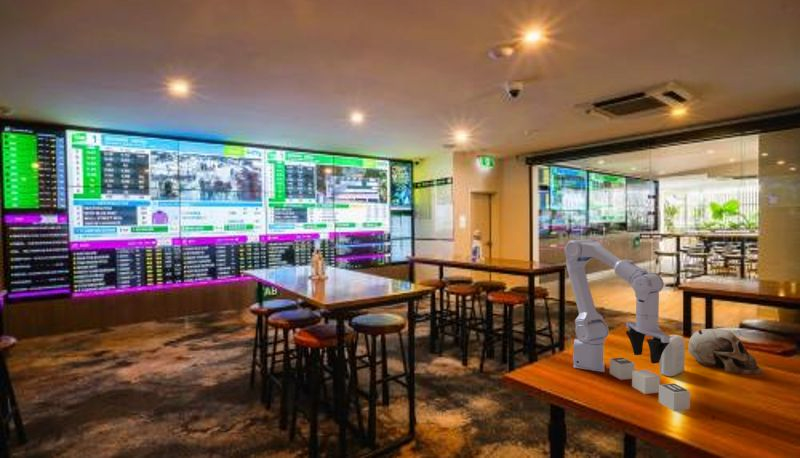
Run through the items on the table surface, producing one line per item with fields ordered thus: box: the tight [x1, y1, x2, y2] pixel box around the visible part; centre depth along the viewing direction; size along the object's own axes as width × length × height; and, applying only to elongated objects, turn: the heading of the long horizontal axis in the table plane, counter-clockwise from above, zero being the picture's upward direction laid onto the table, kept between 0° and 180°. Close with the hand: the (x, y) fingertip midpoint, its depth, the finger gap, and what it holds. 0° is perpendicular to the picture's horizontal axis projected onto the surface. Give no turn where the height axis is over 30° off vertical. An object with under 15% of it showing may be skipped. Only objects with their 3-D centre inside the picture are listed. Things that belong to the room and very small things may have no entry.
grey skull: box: [687, 328, 764, 375], centre depth 137 cm, size 16×17×13 cm
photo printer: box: [659, 334, 686, 377], centre depth 132 cm, size 10×4×12 cm, turn 123°
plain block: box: [631, 369, 661, 395], centre depth 120 cm, size 5×5×5 cm
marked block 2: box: [658, 383, 691, 412], centre depth 110 cm, size 5×5×5 cm
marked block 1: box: [609, 357, 635, 380], centre depth 130 cm, size 5×5×5 cm
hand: (646, 358), depth 120 cm, fingers open, 6 cm apart
